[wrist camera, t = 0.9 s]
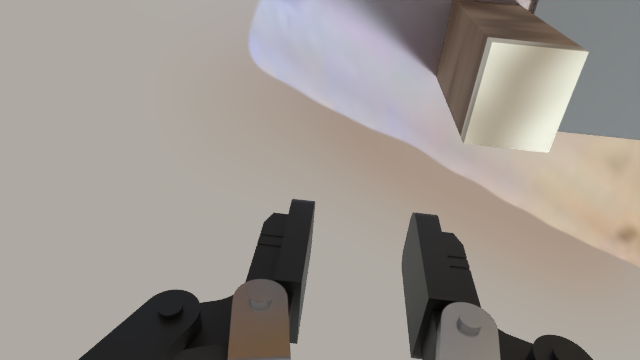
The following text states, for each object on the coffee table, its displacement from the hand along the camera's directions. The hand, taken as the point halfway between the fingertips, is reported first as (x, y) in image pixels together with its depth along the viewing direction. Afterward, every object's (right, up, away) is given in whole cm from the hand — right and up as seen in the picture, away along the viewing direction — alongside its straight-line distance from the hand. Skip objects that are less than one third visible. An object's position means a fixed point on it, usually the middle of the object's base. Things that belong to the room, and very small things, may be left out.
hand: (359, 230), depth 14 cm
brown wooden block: (+11, +12, +21) cm, 27 cm away
